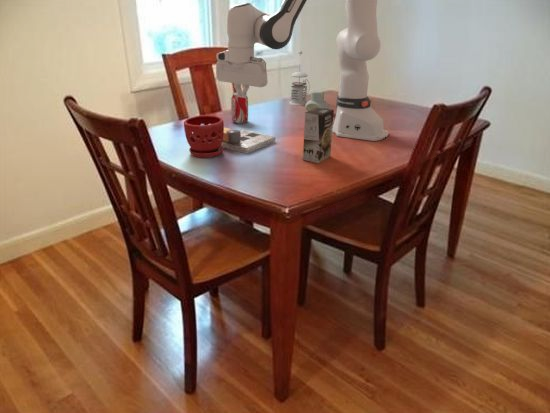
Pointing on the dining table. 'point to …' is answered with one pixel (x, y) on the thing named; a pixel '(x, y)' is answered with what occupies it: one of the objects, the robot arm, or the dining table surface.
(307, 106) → the air freshener
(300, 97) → the french press
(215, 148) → the plant pot
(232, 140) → the swing bar
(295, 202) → the dining table surface
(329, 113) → the coffee box
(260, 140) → the panel
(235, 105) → the soda can
